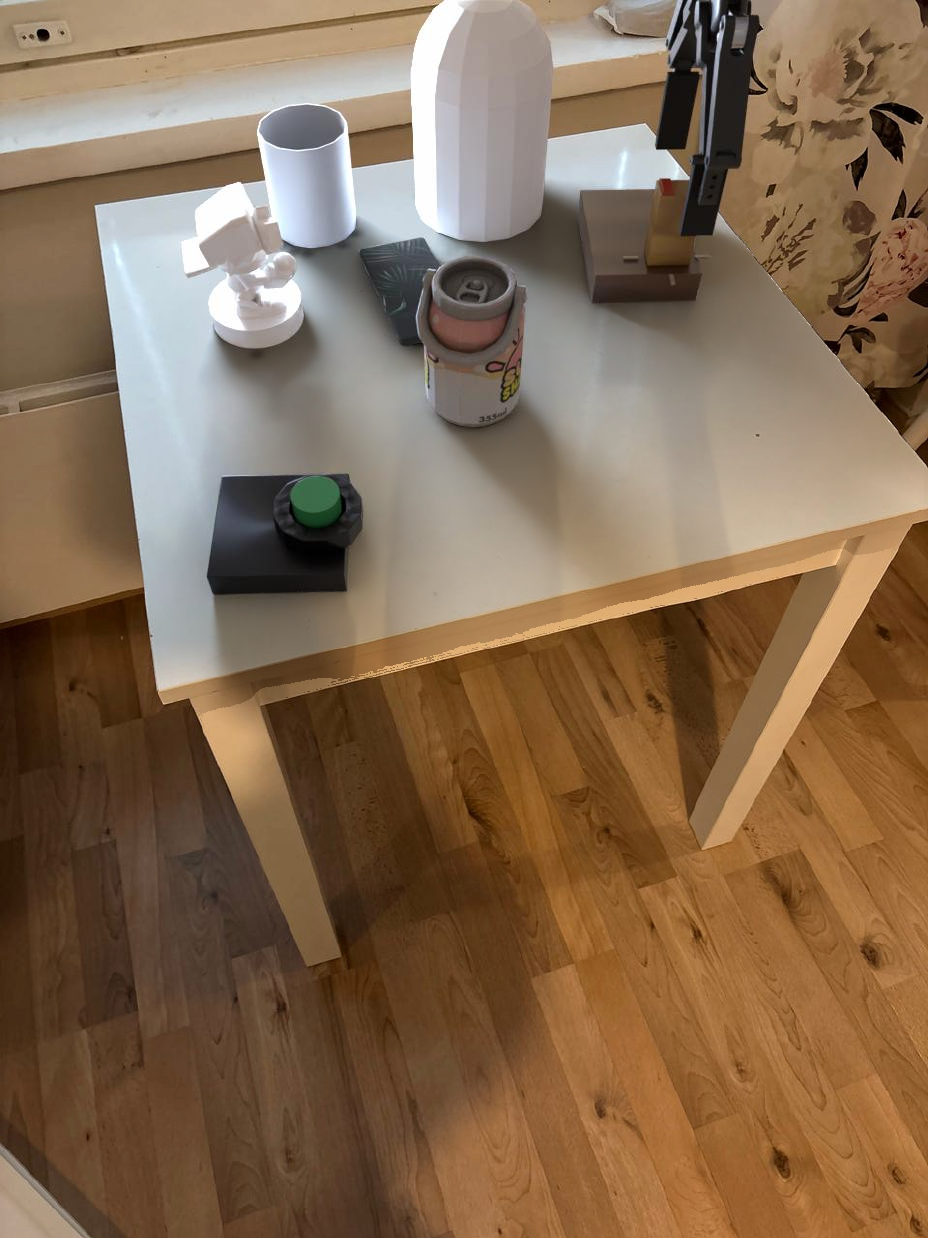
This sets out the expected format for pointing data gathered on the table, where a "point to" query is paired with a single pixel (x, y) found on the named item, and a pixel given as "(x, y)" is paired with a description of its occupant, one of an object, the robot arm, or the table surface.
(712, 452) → the table surface
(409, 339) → the smartphone
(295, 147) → the cup
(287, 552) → the box
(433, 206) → the container
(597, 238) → the plate
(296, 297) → the character figurine
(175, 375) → the table surface
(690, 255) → the tan wooden block
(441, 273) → the beverage can
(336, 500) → the open button
